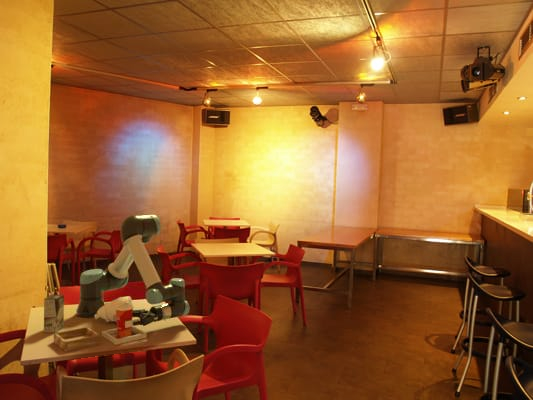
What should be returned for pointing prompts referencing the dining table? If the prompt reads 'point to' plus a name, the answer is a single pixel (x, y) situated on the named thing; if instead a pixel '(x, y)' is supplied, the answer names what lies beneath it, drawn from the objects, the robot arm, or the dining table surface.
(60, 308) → the coffee box
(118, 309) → the coffee cup
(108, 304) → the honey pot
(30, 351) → the dining table surface
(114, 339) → the tray
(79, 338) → the tray
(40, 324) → the dining table surface
